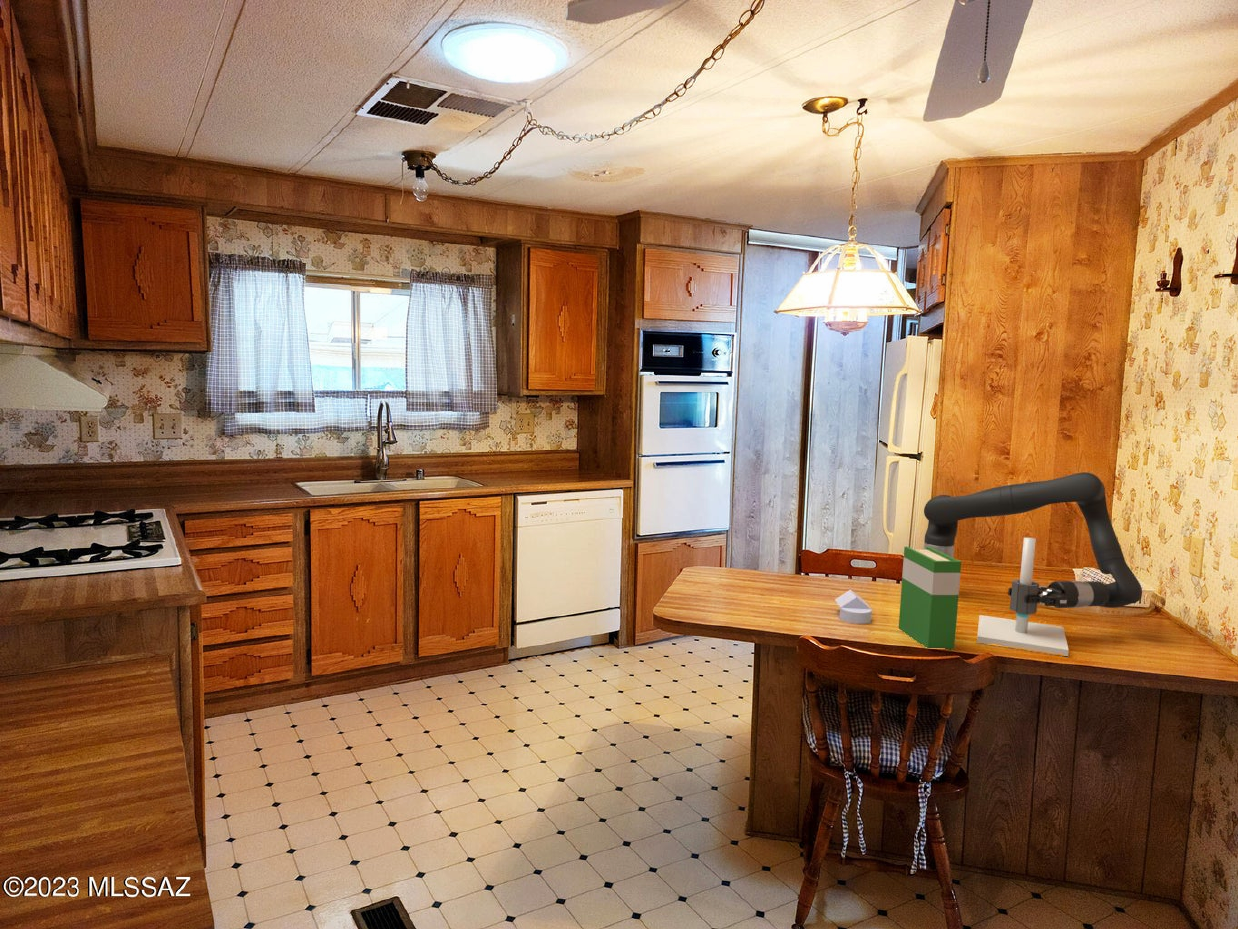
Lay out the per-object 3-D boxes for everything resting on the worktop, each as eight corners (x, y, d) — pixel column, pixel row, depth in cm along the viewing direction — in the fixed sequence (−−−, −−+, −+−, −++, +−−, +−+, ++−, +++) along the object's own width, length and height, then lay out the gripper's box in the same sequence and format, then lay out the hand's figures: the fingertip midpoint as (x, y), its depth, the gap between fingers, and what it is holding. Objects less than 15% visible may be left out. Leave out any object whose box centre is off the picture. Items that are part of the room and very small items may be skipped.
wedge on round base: (834, 610, 250) (842, 623, 237) (835, 588, 250) (844, 600, 237) (863, 611, 250) (874, 624, 237) (865, 590, 249) (875, 602, 236)
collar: (1009, 611, 226) (1012, 583, 225) (1009, 605, 232) (1012, 578, 231) (1037, 615, 223) (1039, 587, 222) (1036, 609, 229) (1038, 581, 228)
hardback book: (898, 628, 234) (904, 546, 231) (923, 628, 235) (929, 546, 232) (927, 649, 217) (934, 561, 214) (954, 649, 218) (961, 561, 215)
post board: (976, 643, 223) (985, 541, 220) (978, 621, 243) (986, 527, 239) (1067, 657, 214) (1078, 551, 210) (1062, 633, 234) (1072, 536, 230)
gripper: (1053, 574, 236) (1001, 575, 233) (1090, 588, 222) (1035, 589, 219) (1051, 599, 237) (999, 601, 234) (1087, 615, 223) (1033, 616, 220)
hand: (1017, 595), depth 227 cm, fingers closed on collar, 6 cm apart
